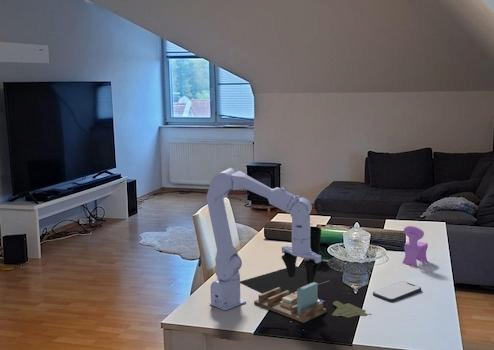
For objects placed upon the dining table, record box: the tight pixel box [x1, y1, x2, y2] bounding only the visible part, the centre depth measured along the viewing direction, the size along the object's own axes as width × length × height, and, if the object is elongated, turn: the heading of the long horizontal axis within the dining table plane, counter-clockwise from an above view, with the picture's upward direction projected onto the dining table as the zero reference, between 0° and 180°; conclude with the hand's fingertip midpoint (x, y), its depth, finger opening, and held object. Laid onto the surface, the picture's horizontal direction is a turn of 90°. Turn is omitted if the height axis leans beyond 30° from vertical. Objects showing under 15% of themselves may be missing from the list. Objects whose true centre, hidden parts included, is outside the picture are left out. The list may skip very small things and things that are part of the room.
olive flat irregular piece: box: [331, 300, 373, 319], centre depth 179 cm, size 11×18×1 cm, turn 36°
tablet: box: [240, 266, 331, 294], centre depth 208 cm, size 27×1×20 cm
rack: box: [253, 287, 328, 324], centre depth 184 cm, size 11×21×3 cm, turn 44°
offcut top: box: [282, 293, 297, 304], centre depth 185 cm, size 5×4×1 cm
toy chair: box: [401, 225, 429, 267], centre depth 224 cm, size 8×9×15 cm
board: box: [296, 282, 319, 315], centre depth 179 cm, size 8×2×8 cm, turn 134°
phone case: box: [372, 281, 422, 303], centre depth 195 cm, size 9×2×16 cm
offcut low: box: [280, 301, 297, 309], centre depth 184 cm, size 6×4×1 cm
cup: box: [310, 225, 322, 255], centre depth 232 cm, size 8×8×12 cm
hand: (300, 279), depth 180 cm, fingers open, 7 cm apart
